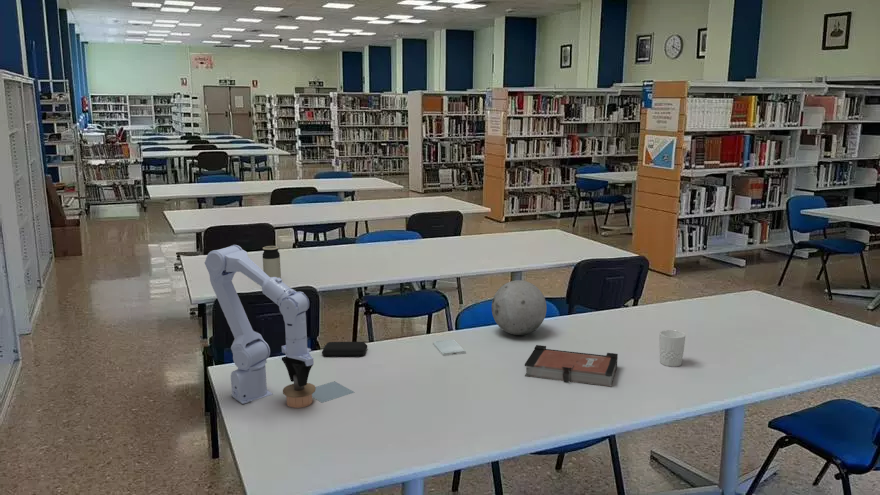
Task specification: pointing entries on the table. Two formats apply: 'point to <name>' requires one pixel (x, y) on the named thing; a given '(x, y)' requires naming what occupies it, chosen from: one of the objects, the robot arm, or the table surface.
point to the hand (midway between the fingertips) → (298, 383)
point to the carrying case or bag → (344, 349)
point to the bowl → (299, 401)
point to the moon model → (519, 307)
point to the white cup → (671, 347)
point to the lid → (298, 389)
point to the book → (572, 366)
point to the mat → (330, 391)
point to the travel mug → (271, 261)
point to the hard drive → (448, 347)
